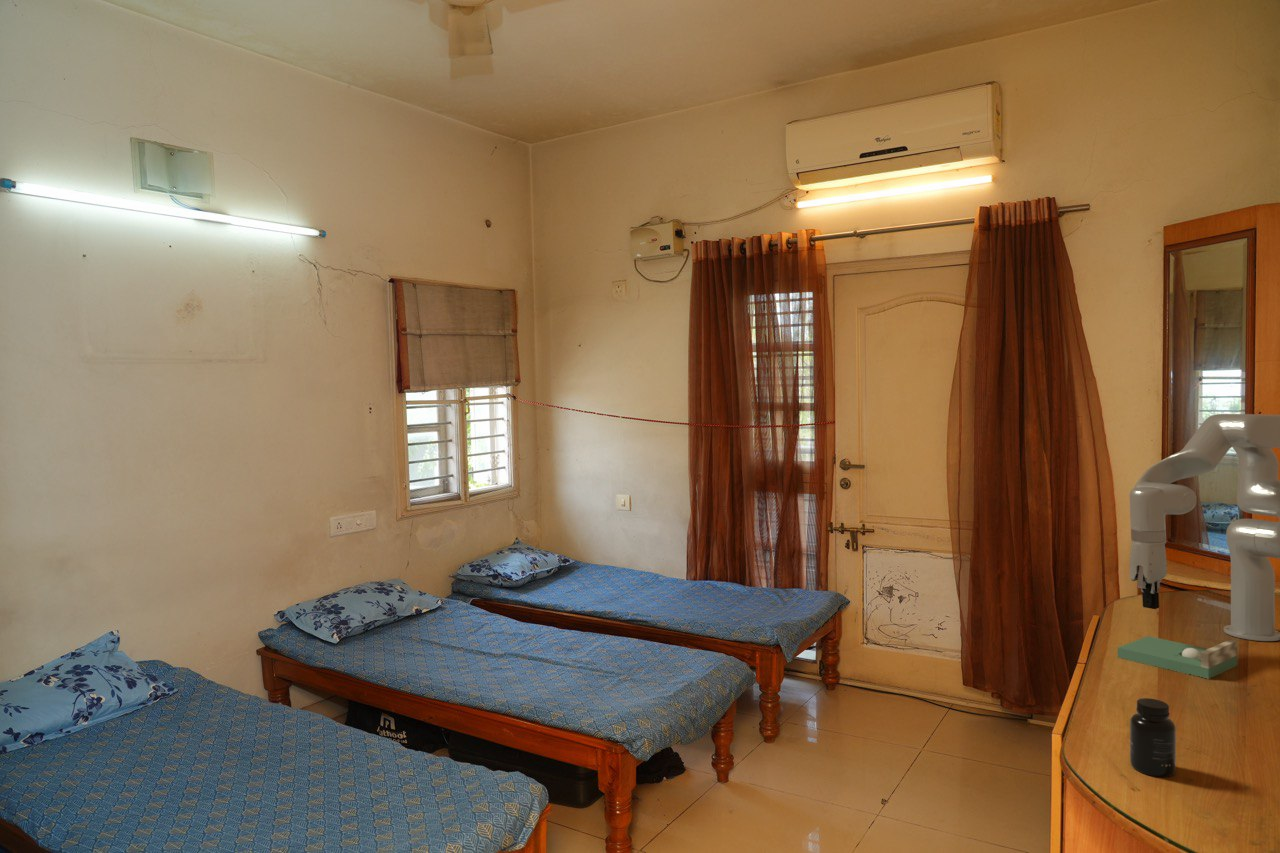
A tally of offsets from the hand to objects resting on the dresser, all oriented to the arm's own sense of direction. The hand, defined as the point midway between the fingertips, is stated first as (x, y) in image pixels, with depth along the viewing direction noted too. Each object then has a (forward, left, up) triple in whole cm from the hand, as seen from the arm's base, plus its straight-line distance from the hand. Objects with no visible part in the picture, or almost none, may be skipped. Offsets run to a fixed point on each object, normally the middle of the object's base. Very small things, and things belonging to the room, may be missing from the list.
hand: (1151, 607), depth 204 cm
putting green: (+1, +6, -12) cm, 14 cm away
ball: (+1, +9, -10) cm, 14 cm away
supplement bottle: (+67, +30, -12) cm, 74 cm away
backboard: (+1, +16, -10) cm, 18 cm away
